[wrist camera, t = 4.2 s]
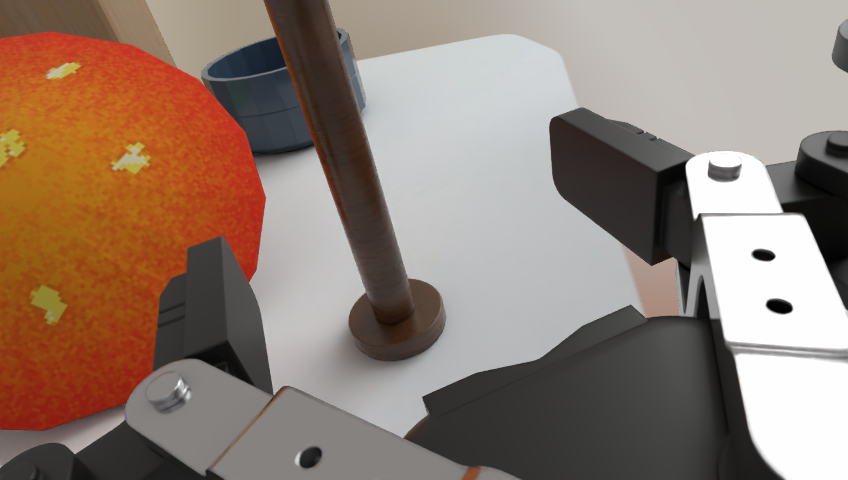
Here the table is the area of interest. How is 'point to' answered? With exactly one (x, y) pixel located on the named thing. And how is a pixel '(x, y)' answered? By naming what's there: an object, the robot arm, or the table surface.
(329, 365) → the table surface
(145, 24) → the wooden block
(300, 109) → the bowl
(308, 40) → the stirring stick
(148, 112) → the decorative mushroom
